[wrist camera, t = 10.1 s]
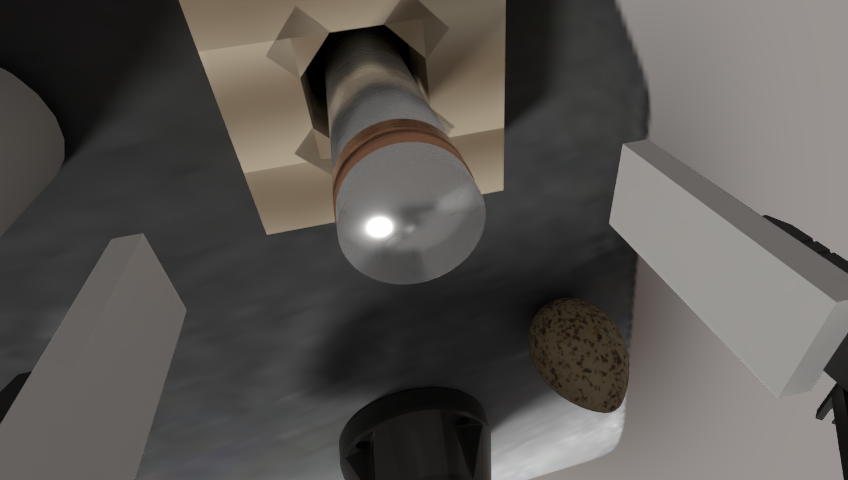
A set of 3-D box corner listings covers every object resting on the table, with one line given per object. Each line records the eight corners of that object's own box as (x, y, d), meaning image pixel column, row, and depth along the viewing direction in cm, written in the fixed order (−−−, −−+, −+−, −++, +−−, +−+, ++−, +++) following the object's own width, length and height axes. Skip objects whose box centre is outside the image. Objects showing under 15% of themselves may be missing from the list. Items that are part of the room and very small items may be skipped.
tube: (403, 94, 26) (488, 270, 14) (332, 105, 26) (351, 298, 13) (393, 16, 24) (486, 143, 11) (314, 28, 24) (319, 173, 11)
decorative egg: (586, 266, 38) (658, 362, 30) (596, 318, 42) (662, 415, 34) (505, 299, 38) (555, 403, 30) (524, 348, 43) (572, 450, 35)
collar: (477, 151, 30) (503, 190, 26) (273, 187, 28) (266, 234, 24) (471, -100, 22) (507, -99, 18) (187, -65, 20) (157, -56, 16)
